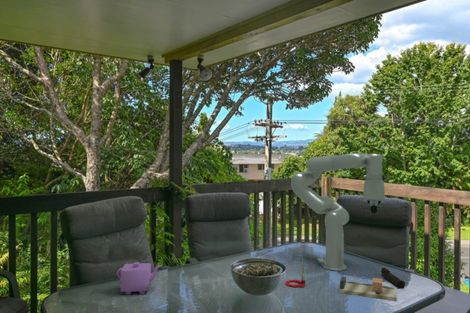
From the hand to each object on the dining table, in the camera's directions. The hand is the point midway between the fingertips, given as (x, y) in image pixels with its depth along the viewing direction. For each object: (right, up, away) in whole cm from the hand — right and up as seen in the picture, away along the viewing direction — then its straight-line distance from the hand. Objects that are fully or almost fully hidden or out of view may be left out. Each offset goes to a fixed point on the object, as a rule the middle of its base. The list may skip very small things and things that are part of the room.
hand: (373, 213), depth 183 cm
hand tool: (+5, -33, -9) cm, 34 cm away
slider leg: (-8, -30, -24) cm, 39 cm away
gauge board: (-12, -32, -22) cm, 41 cm away
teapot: (-115, -32, -23) cm, 121 cm away
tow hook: (-43, -32, -14) cm, 55 cm away
